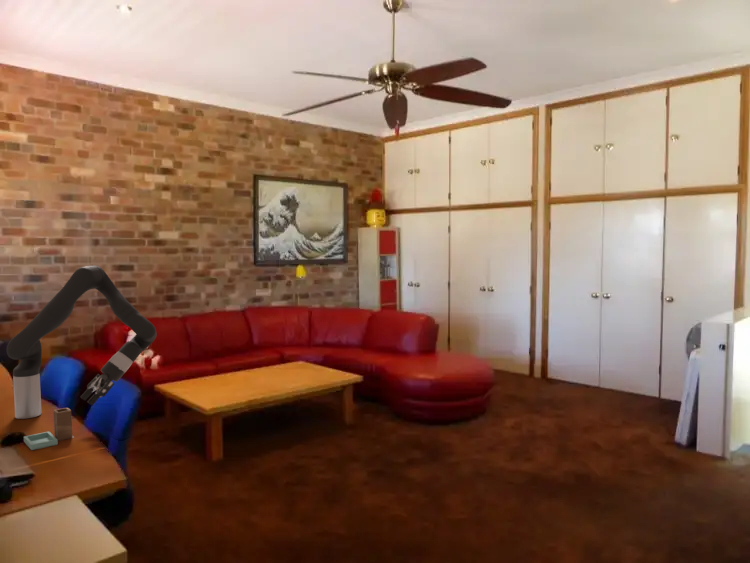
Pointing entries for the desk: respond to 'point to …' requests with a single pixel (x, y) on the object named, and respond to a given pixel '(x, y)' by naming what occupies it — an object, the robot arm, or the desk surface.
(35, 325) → the robot arm
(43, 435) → the tray
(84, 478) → the desk surface
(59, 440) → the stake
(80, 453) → the desk surface
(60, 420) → the brown rectangular box
